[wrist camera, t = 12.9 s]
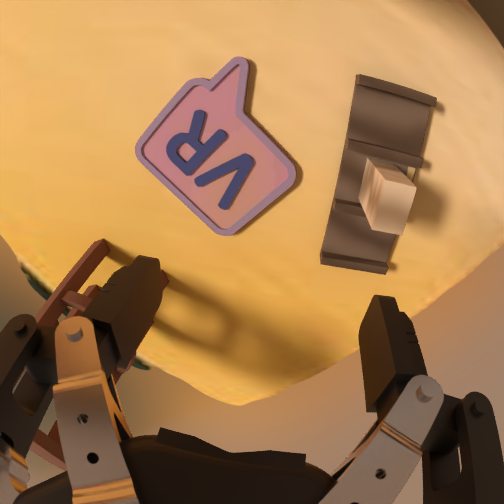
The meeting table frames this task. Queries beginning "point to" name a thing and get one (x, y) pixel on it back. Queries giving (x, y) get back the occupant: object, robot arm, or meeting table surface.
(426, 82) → the meeting table surface
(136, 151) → the icon
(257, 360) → the meeting table surface
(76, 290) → the stool
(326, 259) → the notched ledge
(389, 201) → the oak block
